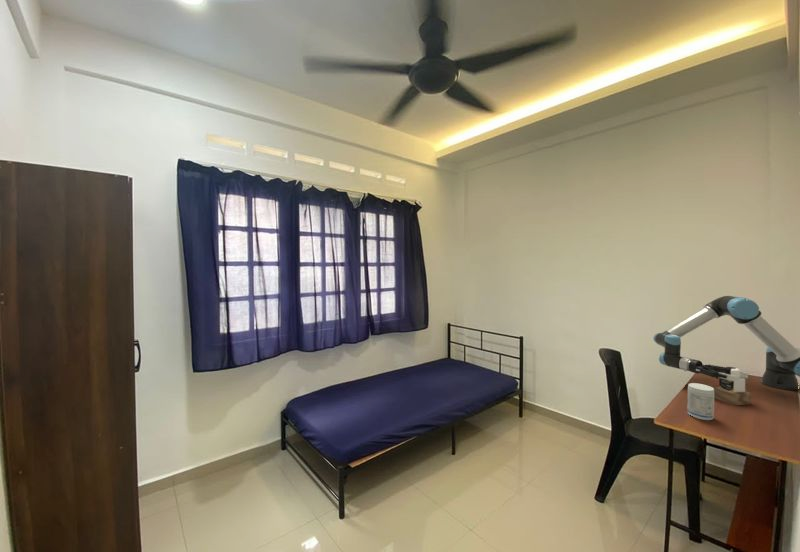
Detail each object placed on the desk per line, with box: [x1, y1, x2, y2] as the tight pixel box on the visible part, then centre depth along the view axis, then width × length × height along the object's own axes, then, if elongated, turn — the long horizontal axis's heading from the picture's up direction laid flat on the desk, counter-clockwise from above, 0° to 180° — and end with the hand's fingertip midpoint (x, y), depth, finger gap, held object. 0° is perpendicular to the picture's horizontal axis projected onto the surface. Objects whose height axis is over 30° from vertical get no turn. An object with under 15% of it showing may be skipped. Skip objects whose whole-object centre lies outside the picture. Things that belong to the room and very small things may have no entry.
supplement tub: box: [686, 382, 715, 421], centre depth 157 cm, size 10×10×15 cm
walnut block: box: [712, 386, 752, 406], centre depth 175 cm, size 10×10×6 cm
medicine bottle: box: [718, 366, 746, 393], centre depth 174 cm, size 7×7×12 cm
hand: (741, 377), depth 171 cm, fingers open, 11 cm apart
